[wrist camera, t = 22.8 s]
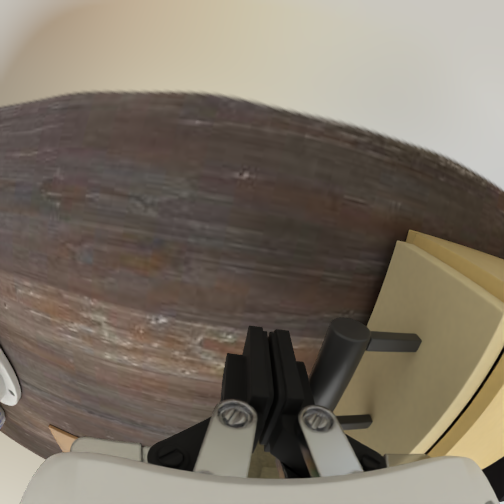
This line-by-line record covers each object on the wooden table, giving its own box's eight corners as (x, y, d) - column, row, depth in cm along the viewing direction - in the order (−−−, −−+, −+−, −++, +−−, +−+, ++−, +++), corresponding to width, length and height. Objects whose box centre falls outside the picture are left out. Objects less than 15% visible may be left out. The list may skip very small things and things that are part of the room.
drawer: (268, 400, 16) (277, 508, 9) (321, 222, 13) (410, 303, 5) (452, 392, 17) (492, 451, 10) (512, 272, 14) (580, 317, 6)
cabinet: (338, 399, 17) (374, 512, 8) (408, 229, 14) (544, 309, 4) (459, 388, 18) (505, 455, 9) (519, 265, 15) (596, 315, 5)
